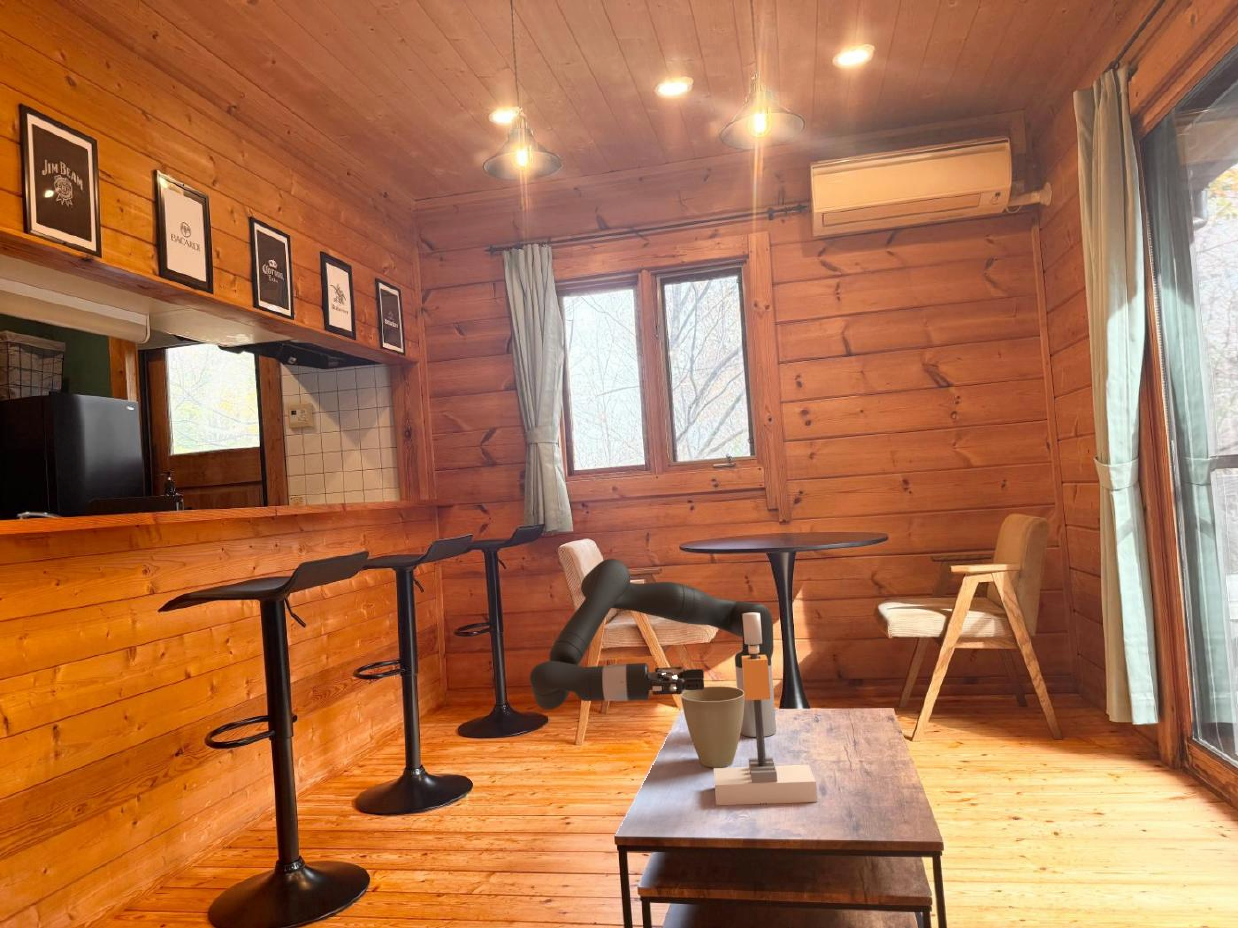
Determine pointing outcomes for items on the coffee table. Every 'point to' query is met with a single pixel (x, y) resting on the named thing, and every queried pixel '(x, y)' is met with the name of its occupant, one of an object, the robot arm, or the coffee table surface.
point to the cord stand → (762, 758)
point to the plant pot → (714, 722)
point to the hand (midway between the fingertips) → (703, 678)
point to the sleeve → (756, 678)
